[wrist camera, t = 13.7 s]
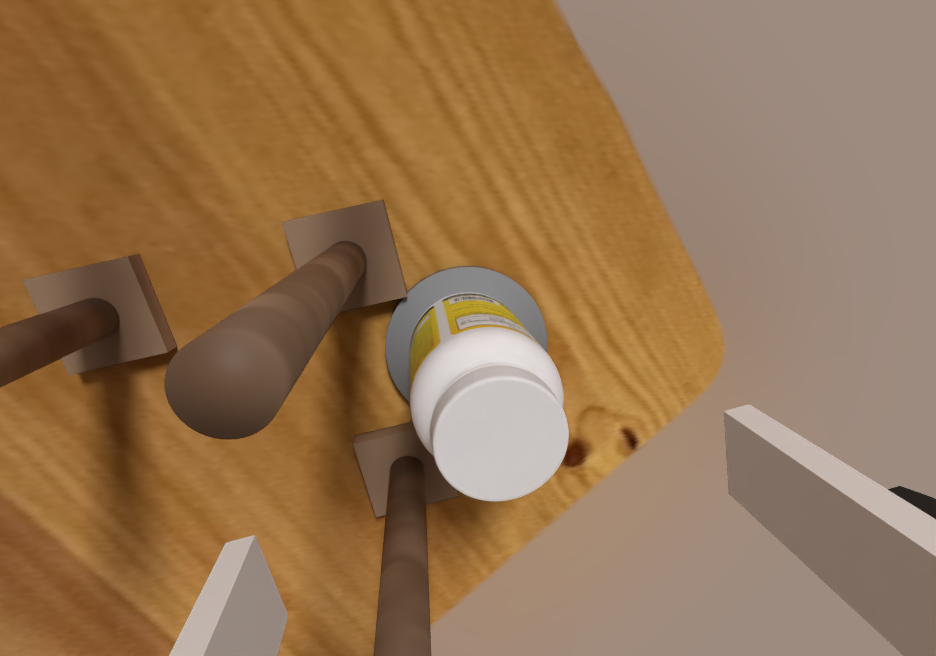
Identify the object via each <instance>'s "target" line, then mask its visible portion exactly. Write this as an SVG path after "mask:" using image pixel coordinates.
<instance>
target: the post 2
mask: <svg viewBox="0 0 936 656" xmlns="http://www.w3.org/2000/svg"><path fill="white" fill-rule="evenodd" d="M353 447H354V450H355V453H356V456H357V459H358V462H359V465H360V468H361V472H362V475H363V478H364V481H365V484H366V487H367V490H368V493H369V497H370V500H371V503H372V506H373V509H374V512H375V515H376V517H380V516H384V515H386V519H385V531H384V542H383V554H382V565H381V577H380V588H379V600H378V611H377V623H376V634H375V646H374V656H431V635H430V608H429V580H428V553H427V526H426V505H427V504H431V503H435V502H439V501H443V500H447V499H451V498H455V497H458V490H456V489H455V488H454V487H452V486H451V485H450V484H449V483H448V482H447V480H446V479H445V478H444V477H443V475H442V474H441V472H440V471H439V469H438V467H437V465H436V462H435V459H434V456H433V455H432V454H431V453H430V452H429V451H428V450H427V449H426V448H425V446H424V445H423V443H422V442H421V440H420V438H419V437H418V435H417V432H416V429H415V427H414V424H413V422H409V423H405V424H401V425H396V426H392V427H388V428H384V429H380V430H376V431H372V432H368V433H364V434H359V435H355V437H354V441H353Z"/></svg>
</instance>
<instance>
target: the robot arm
mask: <svg viewBox="0 0 936 656" xmlns="http://www.w3.org/2000/svg"><path fill="white" fill-rule="evenodd" d="M724 423H725V439H726V456H727V472H728V489H729V494H730V495H731V496H732V497H733V498H734V499H735V500H736V501H737V502H739V503H740V504H741V505H742V506H743V507H744V508H745V509H746V510H747V511H748V512H749V513H750V514H751V515H752V516H754V517H755V518H756V519H757V520H758V521H759V522H760V523H761V524H762V525H763V526H764V527H765V528H767V529H768V530H769V531H770V532H771V533H772V534H773V535H774V536H775V537H776V538H777V539H779V541H781V542H782V543H783V544H784V545H785V546H786V547H787V548H788V549H789V550H790V551H791V552H792V553H794V554H795V555H796V556H797V557H798V558H799V559H800V560H801V561H802V562H803V563H804V564H805V565H806V566H807V567H809V568H810V569H811V570H812V571H813V572H814V573H815V574H816V575H817V576H818V577H819V578H820V579H822V580H823V581H824V582H825V583H826V584H827V585H828V586H829V587H830V588H831V589H832V590H833V591H834V592H836V593H837V594H838V595H839V596H840V597H841V598H842V599H843V600H844V601H845V602H846V603H848V605H850V606H851V607H852V608H853V609H854V610H855V611H856V612H857V613H858V614H859V615H860V616H861V617H862V618H864V619H865V620H866V621H867V622H868V623H869V624H870V625H871V626H872V627H873V628H874V629H875V630H877V631H878V632H879V633H880V634H881V635H882V636H883V637H884V638H885V639H886V640H887V641H889V642H890V643H891V644H892V645H893V646H894V647H895V648H896V649H897V650H898V651H899V652H900V653H901V654H902V655H903V656H936V499H934V498H932V497H929V496H927V495H924V494H921V493H918V492H915V491H912V490H910V489H907V488H904V487H901V486H898V487H895V488H891V489H888V490H887V489H886V488H884V487H882V486H881V485H879V484H878V483H876V482H874V481H873V480H871V479H869V478H868V477H866V476H865V475H863V474H861V473H860V472H858V471H856V470H855V469H853V468H852V467H850V466H848V465H847V464H845V463H843V462H842V461H840V460H838V459H837V458H835V457H834V456H832V455H830V454H829V453H827V452H826V451H824V450H822V449H821V448H819V447H818V446H816V445H814V444H812V443H811V442H809V441H808V440H806V439H805V438H803V437H801V436H800V435H798V434H796V433H795V432H793V431H792V430H790V429H788V428H787V427H785V426H783V425H782V424H780V423H779V422H777V421H775V420H774V419H772V418H770V417H769V416H767V415H765V414H764V413H762V412H761V411H759V410H757V409H756V408H754V407H752V406H751V405H745V406H742V407H738V408H734V409H730V410H726V411H724ZM287 618H288V613H287V611H286V608H285V606H284V604H283V601H282V599H281V596H280V594H279V591H278V589H277V587H276V584H275V582H274V579H273V577H272V575H271V572H270V570H269V567H268V565H267V563H266V560H265V558H264V555H263V553H262V551H261V548H260V546H259V543H258V541H257V538H256V536H255V535H253V536H249V537H246V538H242V539H238V540H234V541H230V542H227V543H225V545H224V547H223V549H222V551H221V553H220V555H219V557H218V559H217V561H216V563H215V565H214V567H213V569H212V571H211V573H210V575H209V577H208V579H207V581H206V583H205V585H204V587H203V589H202V591H201V593H200V595H199V597H198V599H197V601H196V603H195V605H194V607H193V609H192V611H191V613H190V615H189V617H188V619H187V621H186V623H185V625H184V627H183V629H182V631H181V633H180V635H179V637H178V639H177V641H176V643H175V645H174V647H173V649H172V651H171V653H170V655H169V656H277V655H278V652H279V648H280V644H281V640H282V637H283V633H284V629H285V625H286V622H287Z"/></svg>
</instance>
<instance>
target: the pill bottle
mask: <svg viewBox="0 0 936 656" xmlns="http://www.w3.org/2000/svg"><path fill="white" fill-rule="evenodd" d="M563 404H564V394H563V387H562V383H561V379H560V375H559V373H558V370H557V368H556V366H555V364H554V363H553V361H552V359H551V358H550V356H549V355H548V354H547V352H546V351H545V350H544V349H543V348H542V347H541V345H540V344H539V343H538V342H537V341H536V340H535V339H534V338H533V336H532V335H531V334H530V333H529V332H528V331H527V330H526V328H525V327H524V326H523V325H522V324H521V323H520V321H519V320H518V319H517V318H516V317H515V315H514V314H513V313H512V312H511V311H510V310H509V309H508V308H507V307H506V306H505V305H504V304H502V303H501V302H500V301H498V300H496V299H495V298H492V297H490V296H488V295H485V294H481V293H475V292H462V293H456V294H452V295H449V296H446V297H444V298H442V299H440V300H438V301H437V302H435V303H434V304H432V305H431V306H430V307H429V308H428V309H427V310H426V311H425V312H424V313H423V314H422V315H421V317H420V318H419V320H418V321H417V323H416V325H415V328H414V330H413V333H412V338H411V344H410V411H411V416H412V421H413V424H414V427H415V429H416V432H417V435H418V437H419V438H420V440H421V442H422V443H423V445H424V446H425V448H426V449H427V450H428V451H429V452H430V453H431V454H432V455H433V456H434V459H435V462H436V465H437V467H438V469H439V471H440V472H441V474H442V475H443V477H444V478H445V479H446V480H447V482H448V483H449V484H450V485H451V486H452V487H454V488H455V489H456V490H458V491H459V492H461V493H463V494H465V495H467V496H469V497H472V498H475V499H479V500H483V501H493V502H494V501H507V500H512V499H516V498H519V497H522V496H524V495H527V494H529V493H531V492H533V491H534V490H536V489H537V488H539V487H540V486H542V485H543V484H544V483H545V482H547V481H548V480H549V479H550V478H551V477H552V475H553V474H554V473H555V472H556V470H557V469H558V468H559V466H560V464H561V462H562V461H563V458H564V456H565V453H566V450H567V445H568V438H569V430H568V423H567V419H566V415H565V413H564V410H563Z"/></svg>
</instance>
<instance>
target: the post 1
mask: <svg viewBox="0 0 936 656" xmlns="http://www.w3.org/2000/svg"><path fill="white" fill-rule="evenodd" d="M23 282H24V284H25V286H26V288H27V291H28V293H29V295H30V297H31V299H32V301H33V303H34V305H35V307H36V309H37V311H38V313H39V315H37V316H34V317H31V318H28V319H25V320H22V321H19V322H16V323H13V324H10V325H7V326H4V327H1V328H0V387H2V386H4V385H6V384H8V383H11V382H13V381H15V380H17V379H19V378H21V377H23V376H25V375H27V374H29V373H32V372H34V371H36V370H38V369H40V368H42V367H44V366H46V365H48V364H50V363H52V362H55V361H57V360H59V359H61V360H62V362H63V364H64V366H65V368H66V370H67V372H68V374H69V375H72V374H77V373H81V372H85V371H90V370H94V369H98V368H103V367H107V366H111V365H116V364H120V363H124V362H128V361H133V360H137V359H141V358H146V357H150V356H154V355H159V354H163V353H167V352H169V351H171V350H172V349H174V348H175V347H177V345H176V343H175V340H174V338H173V336H172V333H171V331H170V328H169V326H168V323H167V321H166V319H165V316H164V314H163V311H162V309H161V307H160V304H159V302H158V299H157V297H156V294H155V292H154V290H153V287H152V285H151V282H150V280H149V277H148V275H147V273H146V270H145V268H144V265H143V263H142V261H141V258H140V256H139V254H137V255H132V256H128V257H123V258H119V259H114V260H110V261H105V262H101V263H97V264H92V265H88V266H83V267H79V268H74V269H70V270H65V271H61V272H56V273H52V274H47V275H43V276H38V277H34V278H30V279H25V280H23Z"/></svg>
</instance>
